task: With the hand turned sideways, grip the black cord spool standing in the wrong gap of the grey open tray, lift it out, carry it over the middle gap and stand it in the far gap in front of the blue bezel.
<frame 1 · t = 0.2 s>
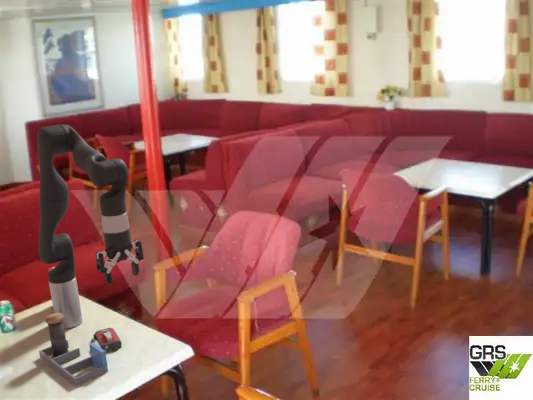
hand: (122, 279, 187), 29 cm above the table, tool pointing down, fingers open, 8 cm apart
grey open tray: (72, 365, 198), on the table
candy box: (61, 308, 241), on the table
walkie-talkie: (107, 349, 208), on the table
cord spool: (61, 356, 204), on the table
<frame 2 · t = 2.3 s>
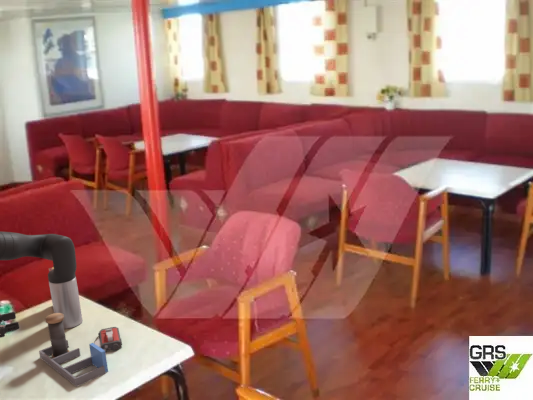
hand: (17, 320, 195), 16 cm above the table, tool horizontal, fingers open, 8 cm apart
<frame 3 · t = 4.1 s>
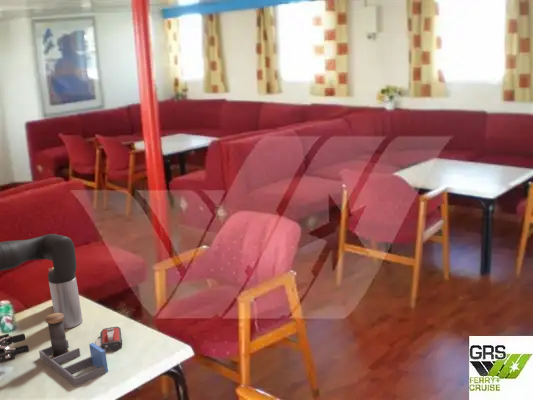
hand: (26, 342, 198), 8 cm above the table, tool horizontal, fingers open, 8 cm apart
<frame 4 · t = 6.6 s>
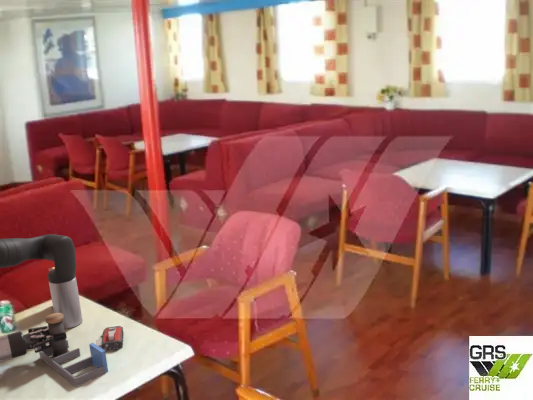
hand: (64, 332, 203), 8 cm above the table, tool horizontal, fingers closed on cord spool, 4 cm apart
cord spool: (61, 356, 204), on the table, touching gripper
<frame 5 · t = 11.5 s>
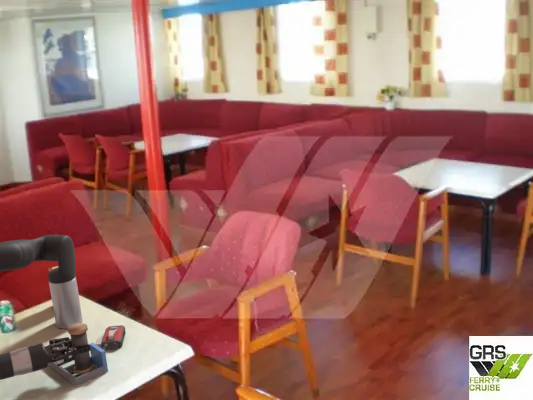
hand: (87, 343, 190), 10 cm above the table, tool horizontal, fingers closed on cord spool, 4 cm apart
cord spool: (83, 369, 191), point 2 cm above the table, touching gripper
when the fingers open (9 cm above the table, at t = 12.0 s): cord spool drops 1 cm, on the table.
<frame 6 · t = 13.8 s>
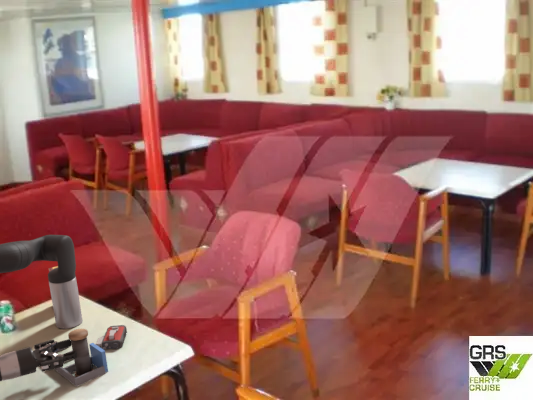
hand: (73, 348, 189), 10 cm above the table, tool horizontal, fingers open, 8 cm apart
cord spool: (84, 374, 192), on the table
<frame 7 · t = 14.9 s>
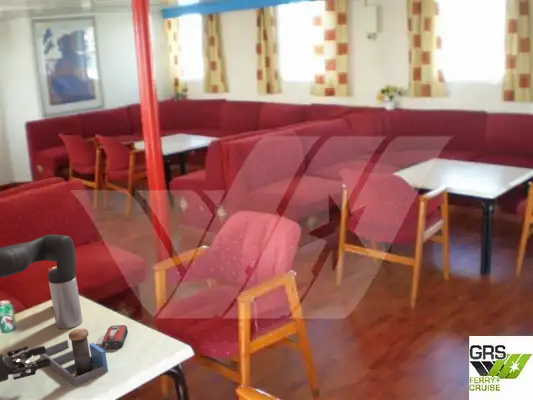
hand: (47, 355, 185), 10 cm above the table, tool horizontal, fingers open, 8 cm apart
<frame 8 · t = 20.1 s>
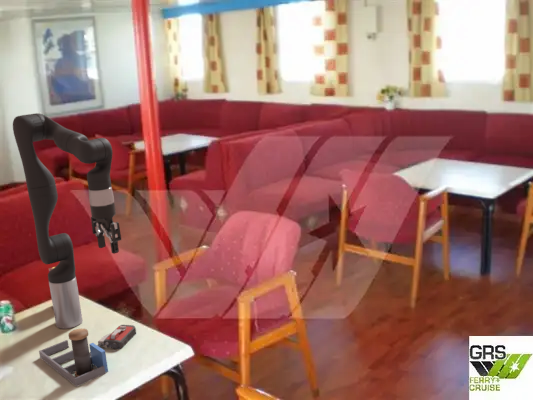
hand: (108, 250, 204), 32 cm above the table, tool pointing down, fingers open, 8 cm apart
at the end: cord spool 0.1 cm from the target spot on the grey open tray, point 0.0 cm above the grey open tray's base; cord spool tilted 0°; the gripper is holding nothing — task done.
